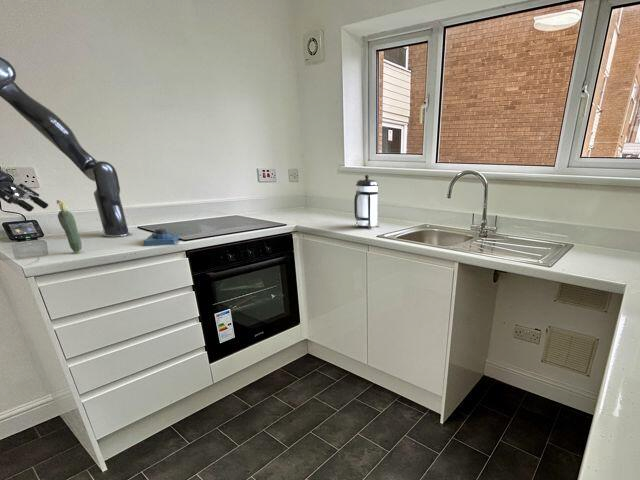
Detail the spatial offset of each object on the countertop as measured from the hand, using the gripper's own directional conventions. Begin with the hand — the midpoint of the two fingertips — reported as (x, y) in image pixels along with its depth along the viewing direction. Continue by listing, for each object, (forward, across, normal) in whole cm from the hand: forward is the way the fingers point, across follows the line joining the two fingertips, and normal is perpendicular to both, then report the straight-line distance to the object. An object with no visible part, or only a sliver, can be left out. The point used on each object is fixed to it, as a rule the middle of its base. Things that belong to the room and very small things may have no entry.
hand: (39, 208), depth 127 cm
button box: (+34, +18, -10) cm, 40 cm away
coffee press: (+105, +45, -80) cm, 140 cm away
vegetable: (+17, 0, +7) cm, 19 cm away
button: (+32, +18, -13) cm, 38 cm away
